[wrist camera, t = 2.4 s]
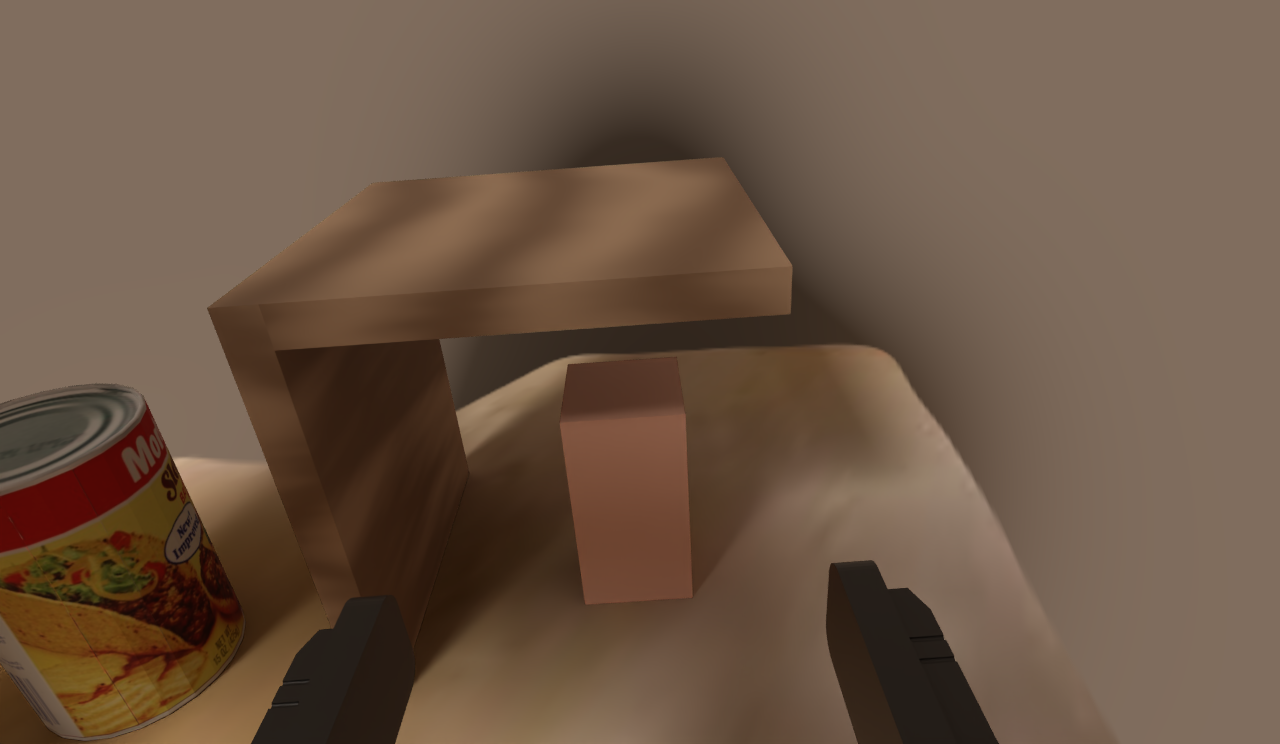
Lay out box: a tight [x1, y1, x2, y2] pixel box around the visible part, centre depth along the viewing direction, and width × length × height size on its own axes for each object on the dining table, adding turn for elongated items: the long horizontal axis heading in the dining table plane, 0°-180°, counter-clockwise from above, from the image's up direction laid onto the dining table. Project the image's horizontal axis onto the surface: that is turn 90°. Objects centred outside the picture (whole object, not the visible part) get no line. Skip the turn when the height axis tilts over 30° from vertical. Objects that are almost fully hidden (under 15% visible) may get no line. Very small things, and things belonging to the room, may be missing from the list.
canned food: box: [0, 384, 246, 741], centre depth 29 cm, size 8×8×12 cm
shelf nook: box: [207, 157, 792, 649], centre depth 31 cm, size 17×16×18 cm
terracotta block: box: [560, 357, 693, 605], centre depth 32 cm, size 5×5×10 cm
